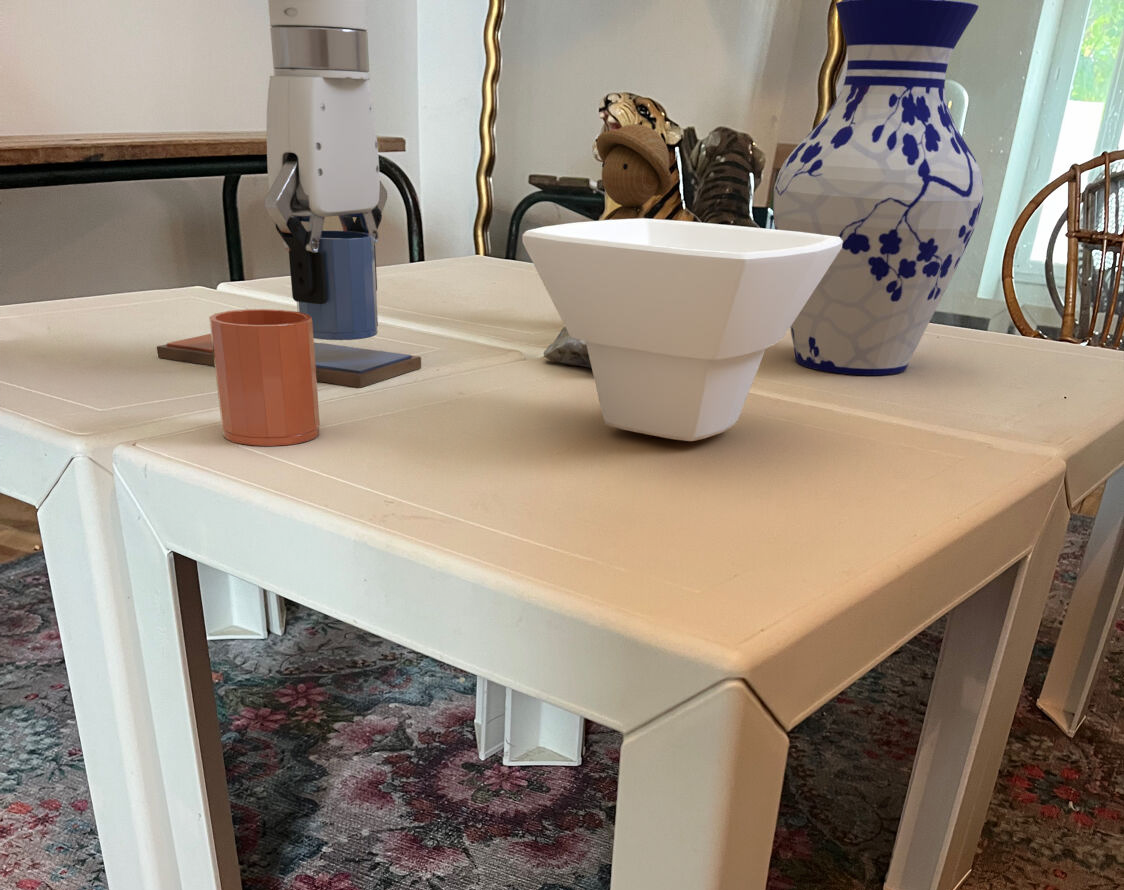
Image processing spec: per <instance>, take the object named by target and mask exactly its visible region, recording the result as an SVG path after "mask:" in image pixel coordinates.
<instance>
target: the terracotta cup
mask: <svg viewBox="0 0 1124 890" xmlns="http://www.w3.org/2000/svg"><path fill="white" fill-rule="evenodd" d="M208 318H209V327H210V334H211V338H212V347H213V355H214V364H215V366H214V370H215V371H214V372H215V373H214V374H215V381H216V389H217V398H218V406H219V415H220V424H221V427H222V436H223V437H224V438H225V439H226V440H227V441H230V442H233V443H236V444H241V445H246V446H255V447H256V446H258V447H278V446H279V447H281V446H289V445H296V444H302V443H306V442H308V441H311V440H314V439H316V438H317V437H318V436H319V435H320V411H319V410H320V409H319V395H318V381H317V380H316V366H315V352H314V342H315V340H314V339H315V338H313V324H312V318H311V316H310V315H308V314H304V313H301V312H297V311H294V310H287V309H274V308H273V309H272V308H253V309H251V308H250V309H249V308H248V309H235V310H227V311H221V312H217V313H216V312H215V313H214V314H212V315H210V316H208Z"/></svg>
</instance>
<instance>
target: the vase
mask: <svg viewBox="0 0 1124 890" xmlns="http://www.w3.org/2000/svg"><path fill="white" fill-rule="evenodd" d="M835 7H836V12H837V15H838V18H839V22H840V25H841V28H842V32H843V36H844V40H845V44H846V52H847V64H846V65H847V66H846V73H845V76H844V77H845V78H844V82H843V85H842V87H841V89H840V92H839V94H838V96H837V98H836V99H835V101H834V103H833V105H832V106H831V107H830V109H829V110H828V111H827V113H826V114H825V115H824V116H823V117H822V119H821V120H820V121H819V123H817V124H816V126H815V127H814V128H813V129H812V130H811V131H810V132H809V133H808V134H807V135H806V136H805V138H804V139H803V140H802V141H801V142H800V143H798V145H797V146H796V147H795V148H794V149H793V150H792V151H791V152H790V154H789V155H788V157H786V159H785V160H784V162H783V163H782V166H781V167H780V170H779V172H778V173H777V177H776V181H775V183H774V186H773V205H772V207H773V208H772V217H773V225H774V230H785V231H795V232H804V233H813V234H821V235H829V236H837V237H840V238H841V239H842V241H843V244H842V248H841V250H840V251H839V253H838V255H837V256H836V258H835V259H834V261H833V262H832V264H831V265H830V267H829V268H828V270H827V271H826V273H825V275H824V276H823V278H822V279H821V281H820V282H819V284H818V285H817V287H816V288H815V290H814V291H813V293H812V294H811V296H810V298H809V299H808V301H807V302H806V304H805V305H804V307H803V308H802V310H801V311H800V313H799V314H798V316H797V318H796V319H795V321H794V322H793V324H792V325H791V327H790V328H789V330H790V335H791V341H792V347H793V354H794V355H793V356H794V360H795V362H796V363H797V364H798V365H800V366H803V367H806V368H809V369H812V370H817V371H821V372H826V373H831V374H832V373H834V374H838V375H839V374H841V375H849V376H850V375H851V376H852V375H853V376H887V375H889V376H890V375H893V374H894V375H895V374H900V373H902V372H905V371H906V370H907V368H908V365H909V363H910V361H911V359H912V357H913V355H914V353H915V351H916V349H917V347H918V345H919V343H920V342H921V339H922V337H923V335H924V333H925V331H926V329H927V327H928V326H929V324H930V322H931V320H932V318H933V316H934V314H935V312H936V310H937V308H938V306H939V304H940V302H941V300H942V298H943V296H944V294H945V293H946V291H947V288H948V286H949V285H950V282H951V281H952V278H953V276H954V274H955V273H956V271H957V268H958V267H959V264H960V262H961V260H962V257H963V255H964V253H965V251H966V249H967V246H968V245H969V242H970V240H971V237H972V236H973V234H974V231H975V230H976V228H977V224H978V223H977V222H978V219H979V216H980V212H981V208H982V205H983V202H984V181H983V178H982V176H983V175H982V172H981V169H980V166H979V164H978V162H977V160H976V158H975V156H974V154H973V153H972V151H971V149H970V148H969V146H968V145H967V143H966V141H965V140H964V137H963V136H962V135H961V133H960V131H959V129H958V127H957V126H956V124H955V121H954V119H953V117H952V114H951V112H950V109H949V105H948V102H947V97H946V87H945V86H946V84H945V83H946V75H947V70H948V65H949V62H950V59H951V57H952V55H953V52H954V50H955V47H956V46H957V44H958V42H959V41H960V39H961V37H962V36H963V34H964V32H965V31H966V29H967V27H968V26H969V24H970V23H971V22H972V20H973V18H974V16H975V15H976V13H977V12H978V9H979V7H980V6H979V5H977V4H975V3H971V2H965V1H958V0H957V1H956V0H841V1H840V0H839V1H838V2H836V3H835Z"/></svg>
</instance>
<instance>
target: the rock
mask: <svg viewBox="0 0 1124 890" xmlns="http://www.w3.org/2000/svg"><path fill="white" fill-rule="evenodd" d="M543 358H546V359H548V360H549V361H554V362H557V363H562V364H565V365H568V366H577V367H578V366H579V367H583V368H584V367H585V368H588V369H592V367H591V363H590V359H589V354H588V350H587V346H586V341H584V340H579V339H575V338H571V337H570V335H569V333H568V331H567V329H566V327H565V325H564V326H563V327H562V329H561V330H560V333H559V334H558V335H557V337H556V338H555V339H554V341H553V342H551V343H550V344H549V345H548V346H547V348H546V349H545V350H544V352H543Z"/></svg>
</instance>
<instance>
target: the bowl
mask: <svg viewBox="0 0 1124 890" xmlns="http://www.w3.org/2000/svg"><path fill="white" fill-rule="evenodd" d="M522 244H523V246H524V249H525V250H526V253H527V254H528V256H529V258H530V260H531V262H532V264H533V266H534V267H535V270H536V271H537V274H538V275H539V278H540V279H541V282H542V284H543V285H544V288H545V289H546V290H545V291H547V294H548V295H549V297H550V299H551V302H552V304H553V305H554V307H555V309H556V312H557V313H558V315H559V317H560V319H561V321H562V323H563V325H564V326H565V327H566V329H567V331H568V333H569V335H570V337H571V338H575V339H579V340H584V341H586V346H587V350H588V354H589V359H590V363H591V367H592V368H591V369H592V370H591V371H592V375H593V380H594V384H595V388H596V392H597V396H598V401H599V405H600V409H601V414H602V417H603V418H602V419H603V422H604V424H605V425H606V426H609V427H613V428H616V429H619V430H624V431H629V432H634V433H638V434H642V435H648V436H654V437H658V438H664V439H668V440H677V441H683V442H694V441H699V440H703V439H707V438H710V437H713V436H716V435H720V434H722V433H724V432H726V431H728V430H729V429H731V428H733V427H734V426H735V425H736V423H737V422H738V420H739V418H740V416H741V413H742V411H743V408H744V405H745V403H746V400H747V398H748V396H749V393H750V391H751V388H752V386H753V382H754V380H755V379H756V375H757V372H758V370H759V367H760V365H761V362H762V359H763V357H764V354H765V352H766V349H767V348H770V347H773V346H775V345H777V344H778V343H780V342H781V341H782V340H783V339H784V338H785V336H786V334H787V333H788V332H789V330H790V327H791V325H792V324H793V322H794V321H795V319H796V318H797V316H798V314H799V313H800V311H801V310H802V308H803V307H804V305H805V304H806V302H807V301H808V299H809V298H810V296H811V294H812V293H813V291H814V290H815V288H816V287H817V285H818V284H819V282H820V281H821V279H822V278H823V276H824V275H825V273H826V271H827V270H828V268H829V267H830V265H831V264H832V262H833V261H834V259H835V258H836V256H837V255H838V253H839V251H840V250H841V248H842V244H843V241H842V239H841V238H840V237H837V236H829V235H821V234H813V233H804V232H795V231H785V230H775V228H763V227H754V226H744V225H743V226H742V225H732V224H721V223H720V224H719V223H712V222H711V223H709V222H700V221H689V220H675V219H674V220H673V219H660V218H658V219H657V218H645V217H644V218H641V219H618V220H611V219H610V220H604V219H602V220H589V221H578V222H569V223H561V224H554V225H547V226H541V227H537V228H531V229H528V230H526V231H525V232H524V233H523V234H522Z"/></svg>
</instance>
